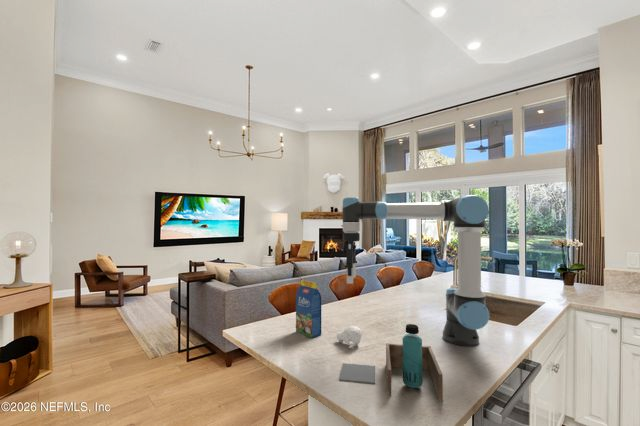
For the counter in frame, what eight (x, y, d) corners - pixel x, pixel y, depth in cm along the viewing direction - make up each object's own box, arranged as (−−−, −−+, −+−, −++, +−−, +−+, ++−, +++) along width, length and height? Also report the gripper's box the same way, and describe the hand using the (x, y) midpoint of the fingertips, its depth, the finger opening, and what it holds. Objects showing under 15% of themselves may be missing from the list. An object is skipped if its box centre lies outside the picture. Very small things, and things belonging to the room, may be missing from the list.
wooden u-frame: (430, 368, 112) (430, 346, 112) (442, 401, 92) (442, 374, 92) (386, 364, 115) (386, 343, 115) (388, 396, 95) (387, 369, 95)
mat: (375, 367, 113) (375, 365, 113) (375, 383, 102) (375, 382, 102) (343, 364, 116) (343, 363, 116) (339, 380, 104) (339, 379, 104)
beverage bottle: (418, 381, 103) (418, 321, 103) (426, 392, 96) (425, 328, 97) (399, 382, 103) (399, 322, 103) (405, 393, 96) (405, 328, 97)
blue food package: (311, 338, 141) (311, 284, 142) (295, 331, 150) (295, 280, 151) (321, 335, 146) (321, 282, 146) (305, 328, 154) (305, 278, 155)
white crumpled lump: (353, 329, 128) (332, 325, 136) (355, 350, 128) (333, 345, 136) (362, 325, 133) (341, 322, 141) (364, 345, 132) (342, 341, 140)
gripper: (345, 231, 149) (346, 275, 148) (338, 233, 125) (339, 285, 124) (361, 231, 148) (361, 275, 147) (357, 233, 123) (357, 286, 122)
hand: (351, 280), depth 135 cm, fingers open, 13 cm apart
